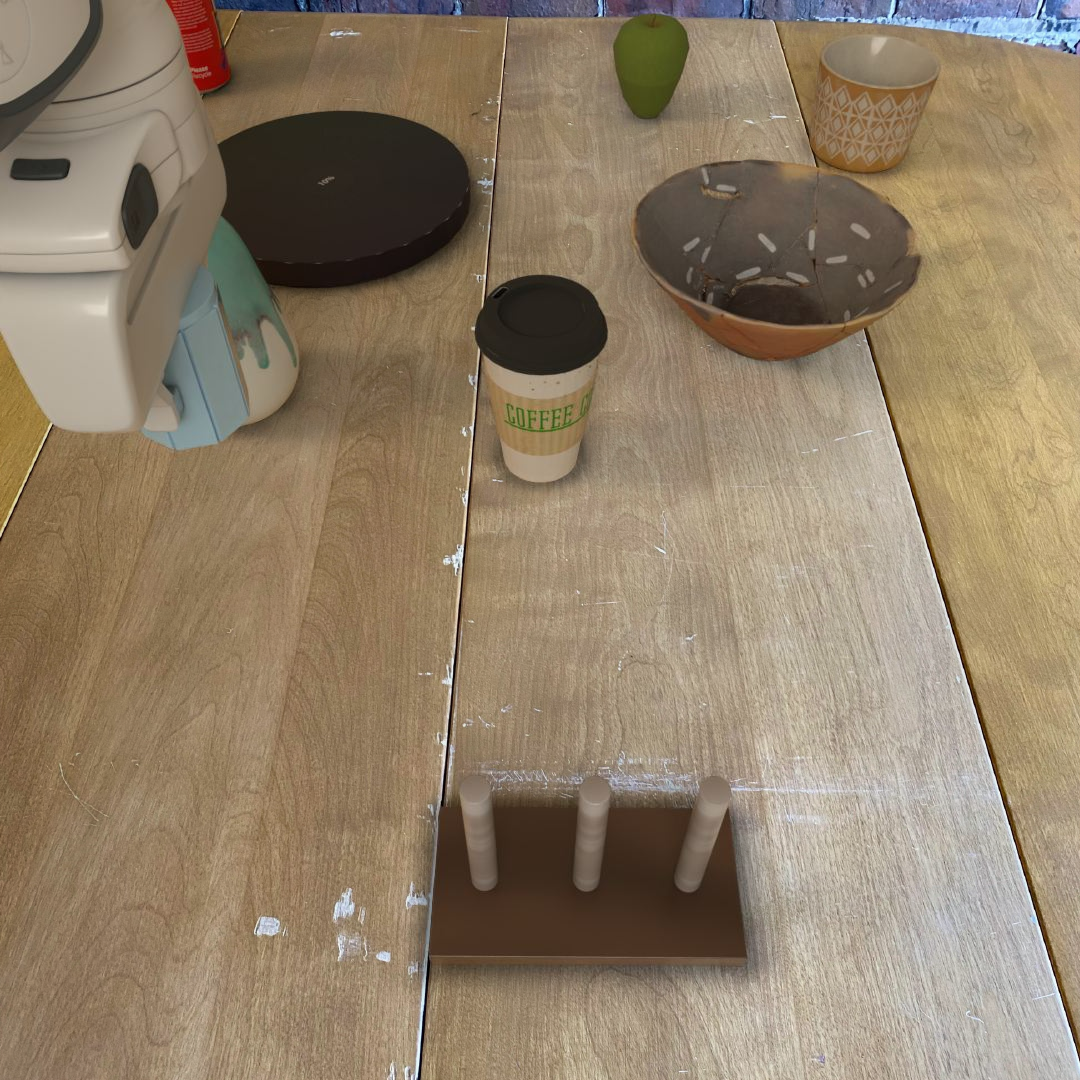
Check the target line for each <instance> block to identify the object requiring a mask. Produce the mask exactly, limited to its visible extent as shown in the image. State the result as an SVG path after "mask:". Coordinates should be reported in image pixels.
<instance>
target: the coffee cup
mask: <svg viewBox="0 0 1080 1080" xmlns="http://www.w3.org/2000/svg"><path fill="white" fill-rule="evenodd" d="M608 338H609V328H608V324H607V319H606V316H605V314H604V312H603V311H602V309H601V307H600V304H599V302H598V300H597V298H596V296H595V295H594V294H593V293H592V292H591V290H590V289H588V288H587V287H585V286H584V285H583V284H581V283H579V282H577V281H575V280H573V279H570V278H567V277H563V276H560V275H559V276H558V275H553V274H529V275H523V276H518V277H516V278H512V279H509V280H507V281H505V282H503V283H501V284H499V285H498V286H497V287H495V288H494V289H493V290H492V291H491V292H490V293H489V294H488V295H487V297H486V298H485V300H484V302H483V306H482V307H481V309H480V310H479V313H478V315H477V317H476V320H475V325H474V340H475V343H476V345H477V347H478V349H479V350H480V351H481V353H482V354H483V369H484V374H485V379H486V385H487V389H488V393H489V399H490V404H491V409H492V414H493V418H494V424H495V429H496V432H497V434H498V437H499V441H500V447H501V451H502V456H503V461H504V463H505V467H507V469H508V470H509V472H511V473H512V474H513V475H514V476H515V477H518V478H519V479H521V480H523V481H527V482H531V483H540V484H541V483H542V484H543V483H550V482H554V481H557V480H561V479H562V478H564V477H565V476H567V475H568V474H569V473H570V472H572V470H574V467H575V466H576V464H577V461H578V457H579V452H580V446H581V442H582V438H583V436H584V434H585V431H586V427H587V422H588V419H589V418H588V417H589V413H590V409H591V403H592V400H593V399H592V397H593V394H594V389H595V384H596V379H597V375H598V371H599V361H600V360H599V355H600V354H601V353H602V351H603V350H604V349H605V347H606V344H607V342H608Z"/></svg>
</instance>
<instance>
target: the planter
mask: <svg viewBox="0 0 1080 1080" xmlns="http://www.w3.org/2000/svg"><path fill="white" fill-rule="evenodd" d="M941 70H942V66H941V62H940V60H939V58H938V57H937V56H936V54H935V53H933V52H932V51H931V50H930V49H928V48H927V47H925V46H924V45H922V44H919V43H918V42H915V41H912V40H910V39H906V38H904V37H901V36H900V37H898V36H894V35H890V34H889V35H888V34H884V33H882V34H881V33H854V34H848V35H844V36H840V37H837V38H835V39H833V40H831V41H829V42H827V43H826V44H825V45H824V46H823V47H822V48H821V50H820V53H819V60H818V69H817V77H816V84H815V91H814V98H813V99H814V100H813V109H812V116H811V122H810V123H811V124H810V131H809V144H810V147H811V149H812V151H813V153H814V155H816V157H818V159H820V160H821V161H823V162H824V163H826V164H828V165H829V166H832V167H833V168H836V169H839V170H843V171H847V172H851V173H852V172H853V173H861V174H862V173H863V174H865V173H866V174H867V173H878V172H879V173H880V172H883V171H887V170H889V169H891V168H894V167H896V165H899V164H900V162H902V161H903V159H904V158H905V157H906V156H907V154H908V151H909V149H910V146H911V143H912V141H913V139H914V137H915V134H916V132H917V129H918V128H919V127H918V126H919V124H920V122H921V119H922V117H923V115H924V112H925V110H926V107H927V105H928V103H929V101H930V97H931V95H932V94H933V91H934V88H935V85H936V84H937V81H938V78H939V76H940V74H941Z"/></svg>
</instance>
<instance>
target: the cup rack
mask: <svg viewBox="0 0 1080 1080" xmlns="http://www.w3.org/2000/svg"><path fill="white" fill-rule="evenodd" d="M578 789H579V790H578V802H577V803H578V804H577V807H571V806H570V807H567V806H565V807H564V806H563V807H561V806H557V807H556V806H555V807H554V806H553V807H550V806H549V807H547V806H526V807H525V806H493V804H494V803H493V791H492V784H491V783H490V781H489V779H487V777H485V776H484V775H481V774H471V775H468V776H467V777H465V778H464V779H463V780H462V781H461V783H460V785H459V789H458V791H459V798H460V806H440V807H439V812H438V825H437V826H438V827H437V839H436V855H435V866H434V879H433V881H434V882H433V893H432V894H433V895H432V906H431V907H432V909H431V919H430V920H431V922H430V933H429V934H430V935H429V947H428V949H429V950H428V957H429V962H430V964H431V965H461V966H462V965H466V966H467V965H469V966H470V965H471V966H472V965H473V966H477V965H478V966H479V965H481V966H482V965H484V966H485V965H487V966H489V965H490V966H629V967H630V966H633V967H635V966H637V967H638V966H639V967H640V966H644V967H647V966H648V967H744V965H745V963H746V962H747V960H748V952H747V944H746V935H745V927H744V920H743V912H742V903H741V897H740V896H741V894H740V887H739V881H738V880H739V878H738V870H737V863H736V855H735V847H734V838H733V830H732V822H731V821H732V820H731V814H730V813H731V812H730V809H729V808H728V806H729V804H730V801H731V798H732V788H731V785H730V784H729V782H728V781H727V780H726V779H724V778H722V777H721V776H716V775H711V776H707V777H705V778H704V779H703V780H702V781H701V782H700V783H699V787H698V791H697V795H696V798H695V800H694V801H695V802H694V805H693V807H611V806H610V804H611V797H612V787H611V784H610V782H608V780H607V779H606V778H604V777H602V776H600V775H589V776H588V777H587V776H586V778H584V779H583V780H582V781H581V783H580V785H579V788H578Z"/></svg>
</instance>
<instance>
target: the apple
mask: <svg viewBox="0 0 1080 1080" xmlns="http://www.w3.org/2000/svg"><path fill="white" fill-rule="evenodd" d="M612 50H613V58H614V67H615V72H616V76H617V80H618V83H619V87H620V91H621V94H622V98H623V99H624V101H625V103H626V104H627V106H628V107H629V109H630V110H631V111H632V113H633V114H634V115H635V116H636V117H639V118H641V119H655V118H656V117H658V115H659V114H660V113H661V112H662V111H663V110H664V109H665V108H666V107H667V106H668V105H669V104H670V102H671V100H672V97H673V96H674V94H675V91H676V89H677V87H678V85H679V82H680V80H681V77H682V75H683V72H684V70H685V66H686V62H687V59H688V55H689V52H690V43H689V37H688V32H687V30H686V28H685V26H684V25H683V24H682V23H681V21H679V20H678V19H677V18H675V17H673V16H671V15H667V14H661V13H645V14H639V15H635V16H633V17H632V18H630V19H627V21H625V22H624V23H623V24H622V25H621V26H620V29H619V31H618V33H617V36H616V37H615V40H614V42H613V44H612Z"/></svg>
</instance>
